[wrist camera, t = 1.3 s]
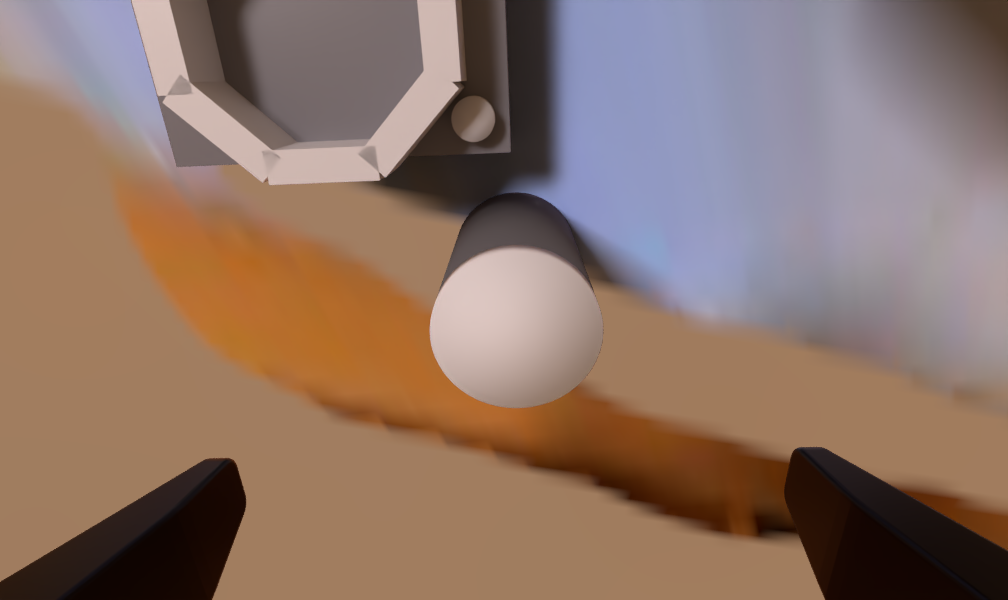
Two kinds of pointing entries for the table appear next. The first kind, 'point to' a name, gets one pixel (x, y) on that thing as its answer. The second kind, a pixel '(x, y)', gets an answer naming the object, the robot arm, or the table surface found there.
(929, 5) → the table surface
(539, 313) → the grey cylinder plug
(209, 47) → the grey block with ring
